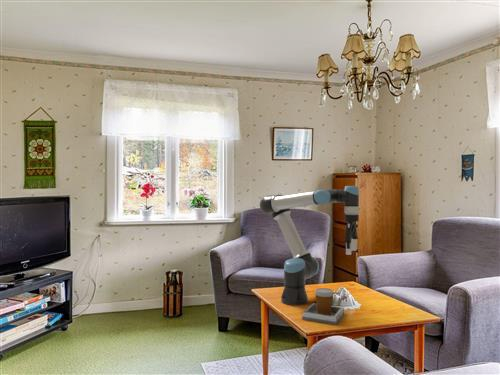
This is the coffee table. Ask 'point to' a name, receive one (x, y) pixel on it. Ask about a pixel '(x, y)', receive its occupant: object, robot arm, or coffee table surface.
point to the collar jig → (313, 314)
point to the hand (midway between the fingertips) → (351, 252)
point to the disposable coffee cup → (324, 300)
